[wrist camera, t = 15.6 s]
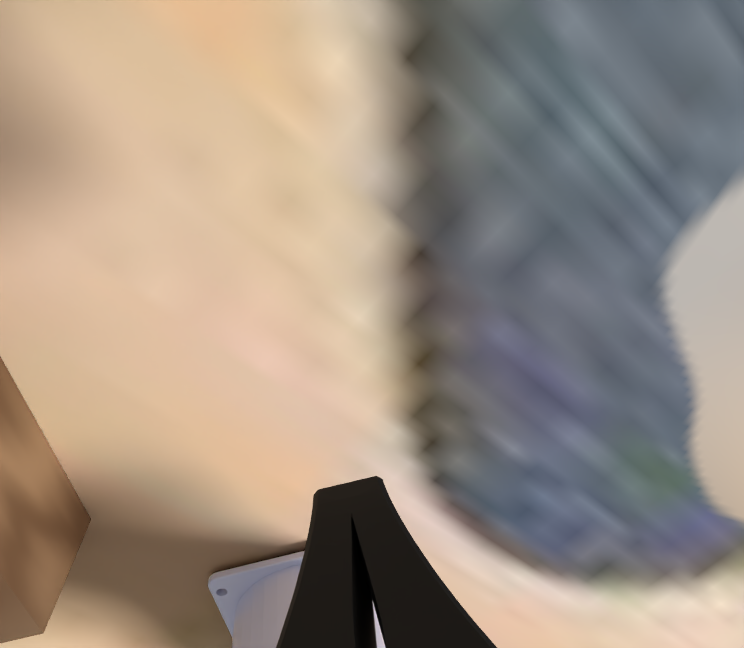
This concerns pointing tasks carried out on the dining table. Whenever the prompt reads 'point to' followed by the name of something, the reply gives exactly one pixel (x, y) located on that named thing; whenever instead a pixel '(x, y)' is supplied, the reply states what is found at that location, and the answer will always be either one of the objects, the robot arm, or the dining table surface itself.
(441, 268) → the dining table surface
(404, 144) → the dining table surface
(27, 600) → the wooden notched bar
